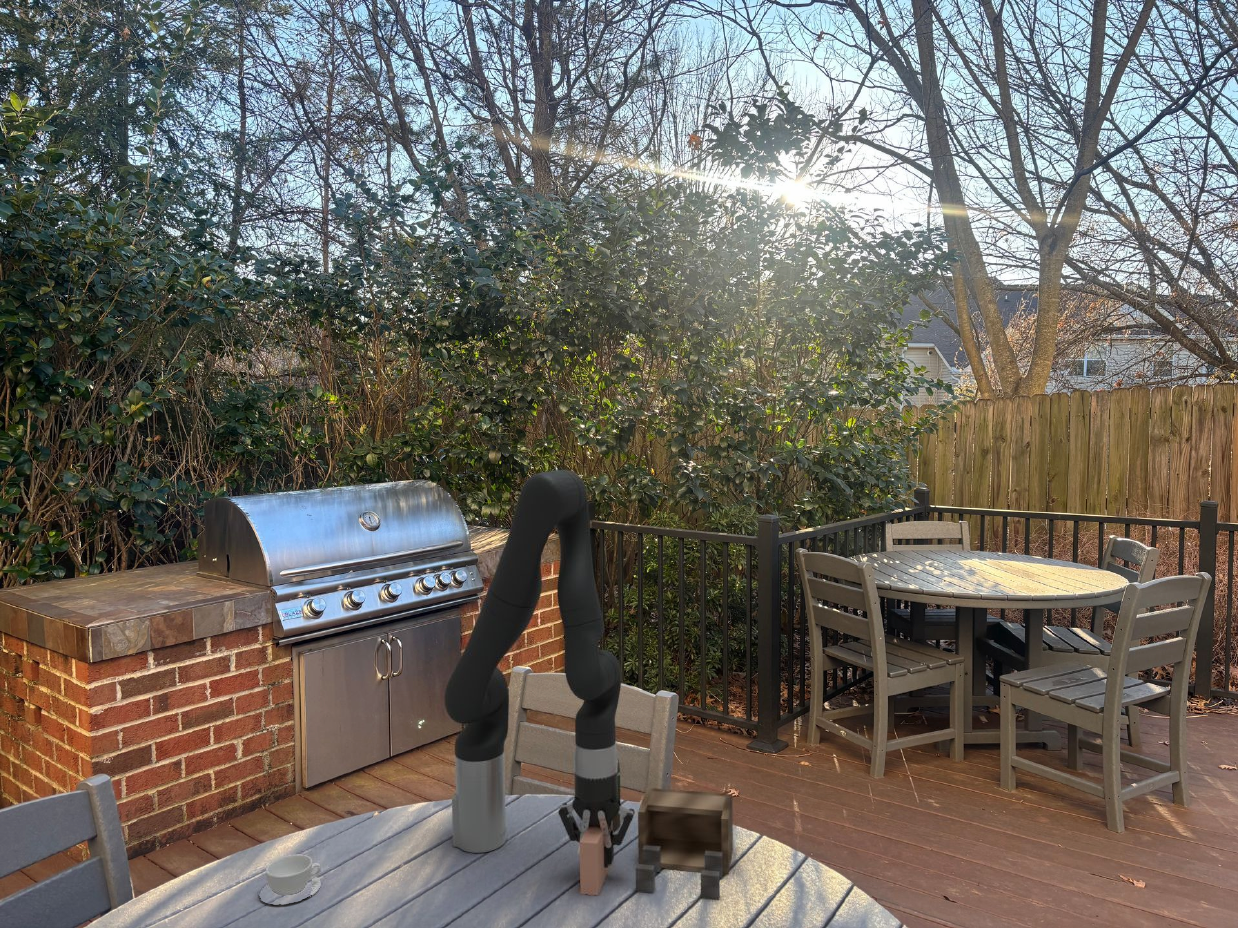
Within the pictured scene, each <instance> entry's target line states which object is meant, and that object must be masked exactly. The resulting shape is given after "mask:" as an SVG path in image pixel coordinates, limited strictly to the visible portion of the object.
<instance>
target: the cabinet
mask: <svg viewBox="0 0 1238 928" xmlns="http://www.w3.org/2000/svg"><path fill="white" fill-rule="evenodd" d="M733 798H734V796H733V793H721V792H710V791H696V790H695V791H693V790H683V789H681V790H679V789H672V788H671V789H667V788H656V787H655V788H654V787H647V788H646V791H645V793H644V796H643V798H642V801H641V803H640V806H639V809H638V811H637V832H638V833H637V834H638V835H637V838H638V839H637V840H638V841H637V842H638V843H637V844H638V845H637V846H638V848H637V850H638V854H637V855H638V863H636V866H635V892H636V893H637V892H638V893H647V894H649V893H650V894H654V892H655V889H656V882H655V881H656V880H655V879H656V876H655V872H661V869H660V868H665V869H664V870H672V871H673V870H674V871H685V872H692V873H700V898H701V899H707V900H708V899H709V900H715V901H716V900H717V901H719V900H720V896H721V895H720V889H721V888H720V886H721V884H720V882H721V880H723V877H724V876H729V874H730V869H731V862H732V855H733V848H734V844H733V843H734V842H733V841H734V840H733V839H734V838H733V837H734V835H733V834H734V832H733V830H734V823H733V821H734V820H733V819H734V818H733V815H734V814H733V813H734V812H733V810H734V809H733Z"/></svg>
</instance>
